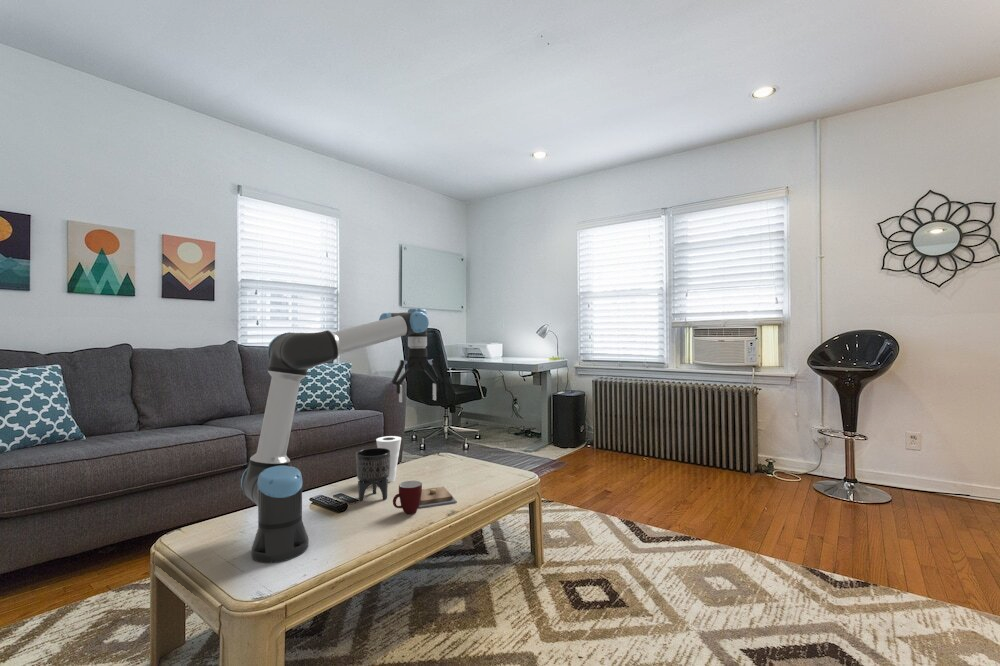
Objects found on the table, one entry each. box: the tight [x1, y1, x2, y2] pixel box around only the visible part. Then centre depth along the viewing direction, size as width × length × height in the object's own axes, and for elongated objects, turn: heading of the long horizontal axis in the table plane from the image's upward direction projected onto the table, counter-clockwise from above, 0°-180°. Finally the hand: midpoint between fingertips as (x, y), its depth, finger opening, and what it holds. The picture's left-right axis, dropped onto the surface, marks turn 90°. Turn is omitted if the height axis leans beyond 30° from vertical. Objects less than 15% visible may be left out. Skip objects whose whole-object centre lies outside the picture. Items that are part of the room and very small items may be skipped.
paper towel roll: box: [375, 435, 402, 483], centre depth 200 cm, size 11×11×18 cm
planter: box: [355, 447, 391, 503], centre depth 179 cm, size 13×13×18 cm
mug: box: [392, 480, 423, 515], centre depth 163 cm, size 10×8×10 cm
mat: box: [418, 497, 458, 509], centre depth 178 cm, size 14×16×1 cm
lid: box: [420, 486, 454, 505], centre depth 178 cm, size 12×12×3 cm
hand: (417, 401), depth 184 cm, fingers open, 13 cm apart
